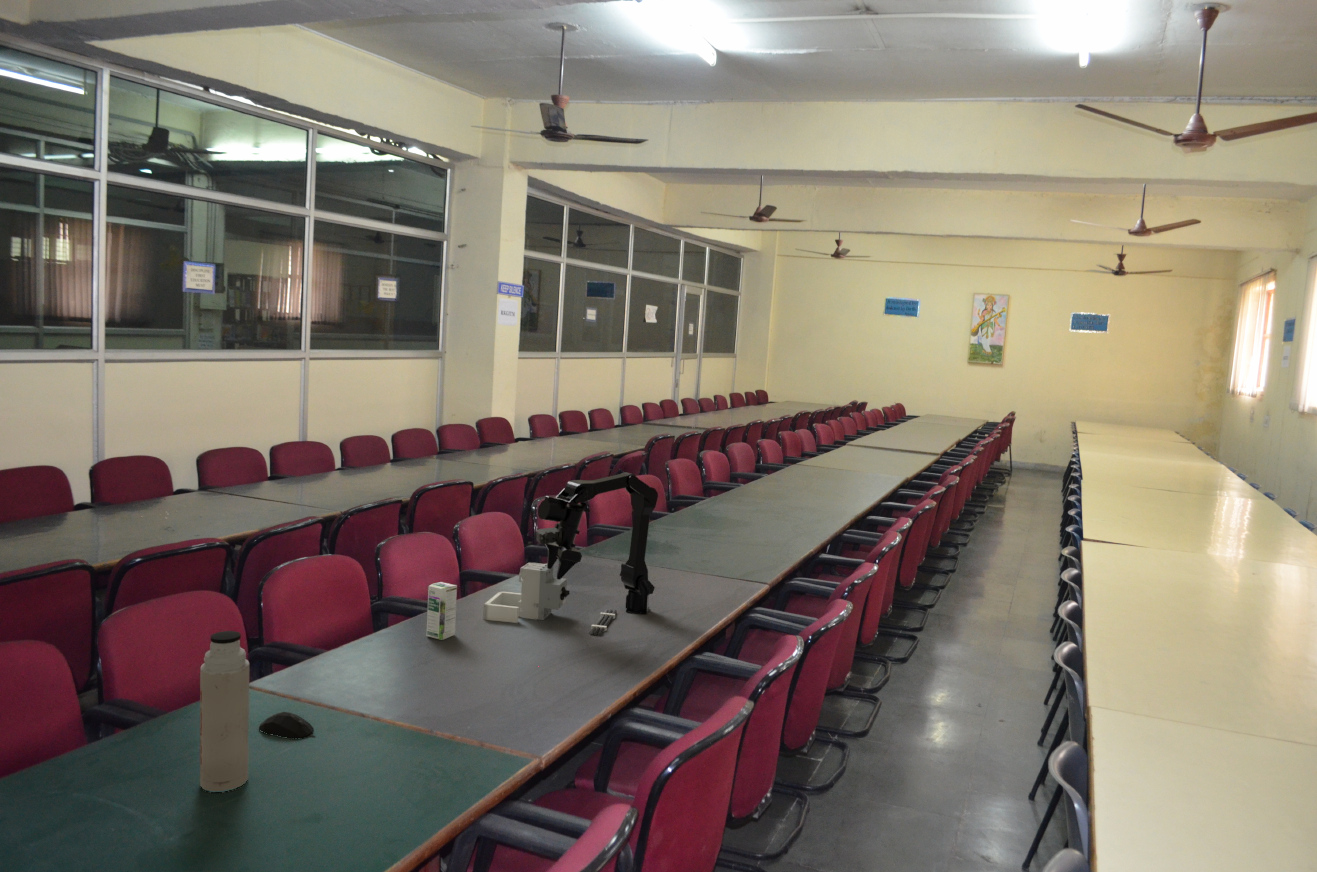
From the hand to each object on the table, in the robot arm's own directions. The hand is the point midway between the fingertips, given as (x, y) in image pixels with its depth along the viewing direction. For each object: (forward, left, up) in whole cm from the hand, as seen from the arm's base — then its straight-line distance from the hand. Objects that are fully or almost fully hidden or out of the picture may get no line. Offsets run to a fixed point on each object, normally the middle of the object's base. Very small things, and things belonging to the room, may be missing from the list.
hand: (553, 573), depth 262 cm
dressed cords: (-15, -5, -15) cm, 22 cm away
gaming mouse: (+32, +84, -16) cm, 91 cm away
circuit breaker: (+4, -6, -15) cm, 17 cm away
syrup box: (+26, +20, -15) cm, 36 cm away
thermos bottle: (+32, +106, -15) cm, 112 cm away
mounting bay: (+14, -4, -15) cm, 21 cm away
